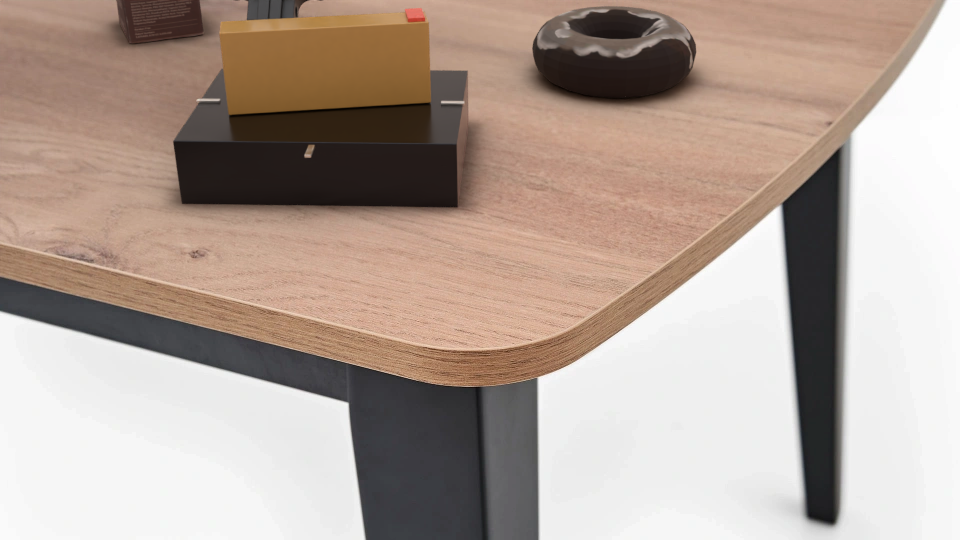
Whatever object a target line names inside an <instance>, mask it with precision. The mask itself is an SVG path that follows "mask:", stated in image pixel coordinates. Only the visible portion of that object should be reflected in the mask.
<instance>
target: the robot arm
mask: <svg viewBox="0 0 960 540" xmlns="http://www.w3.org/2000/svg"><path fill="white" fill-rule="evenodd" d="M234 1H235V2H236V1H237V2H238V1H239V0H234ZM245 1H246V2H247V13H246V20H263V19H283V18H299V15H300V14H299V12H300V8H301V7H302V6H303V4H304V3H306V2H309V1H310V0H245ZM317 1H318V2H319V1H321V2H322V1H323V0H317Z"/></svg>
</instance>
